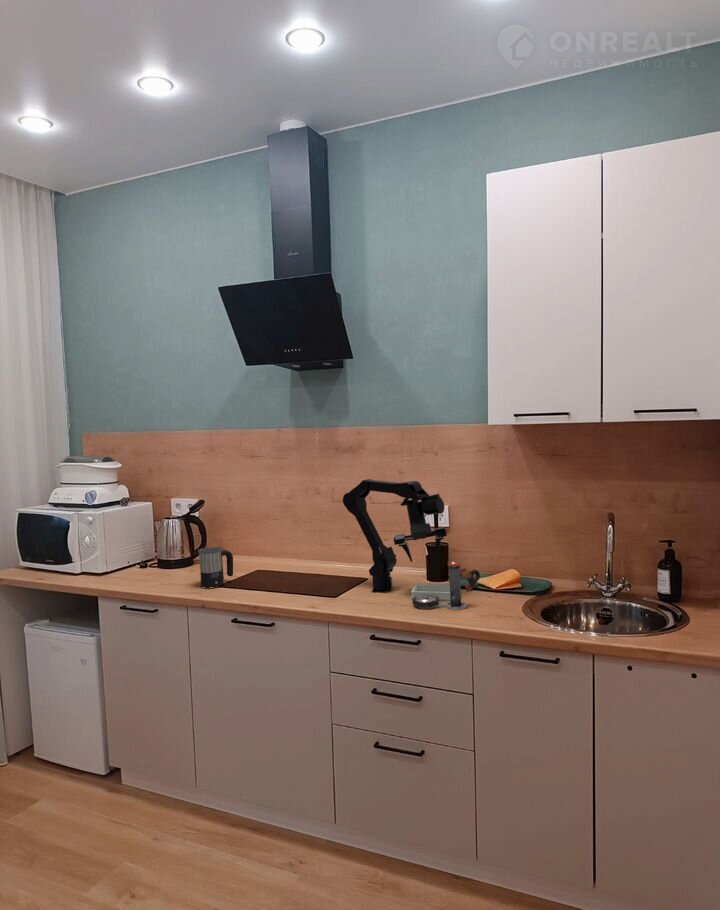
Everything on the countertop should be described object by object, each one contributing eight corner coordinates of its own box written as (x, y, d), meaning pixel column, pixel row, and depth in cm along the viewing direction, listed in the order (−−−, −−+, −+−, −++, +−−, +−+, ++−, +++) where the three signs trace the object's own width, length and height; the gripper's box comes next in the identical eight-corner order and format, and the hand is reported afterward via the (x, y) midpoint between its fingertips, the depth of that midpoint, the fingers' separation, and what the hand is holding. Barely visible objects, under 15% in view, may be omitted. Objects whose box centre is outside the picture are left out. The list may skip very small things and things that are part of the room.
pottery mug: (461, 594, 239) (451, 573, 241) (452, 599, 247) (442, 579, 249) (488, 581, 243) (478, 560, 245) (478, 587, 251) (468, 567, 254)
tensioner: (411, 609, 222) (411, 599, 221) (415, 601, 230) (415, 592, 230) (465, 610, 217) (464, 601, 217) (467, 603, 226) (466, 593, 225)
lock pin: (448, 608, 221) (447, 563, 220) (450, 604, 225) (448, 560, 224) (461, 608, 220) (460, 563, 219) (463, 605, 224) (461, 560, 223)
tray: (411, 600, 232) (411, 591, 232) (416, 592, 242) (415, 584, 241) (457, 601, 228) (457, 592, 228) (460, 593, 238) (460, 585, 238)
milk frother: (210, 590, 257) (208, 552, 256) (184, 585, 267) (182, 548, 266) (238, 581, 269) (236, 545, 268) (212, 577, 278) (210, 542, 277)
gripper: (389, 523, 230) (397, 568, 229) (442, 514, 227) (451, 559, 227) (391, 520, 241) (399, 562, 240) (442, 511, 239) (450, 554, 238)
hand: (424, 559), depth 236 cm, fingers open, 9 cm apart
